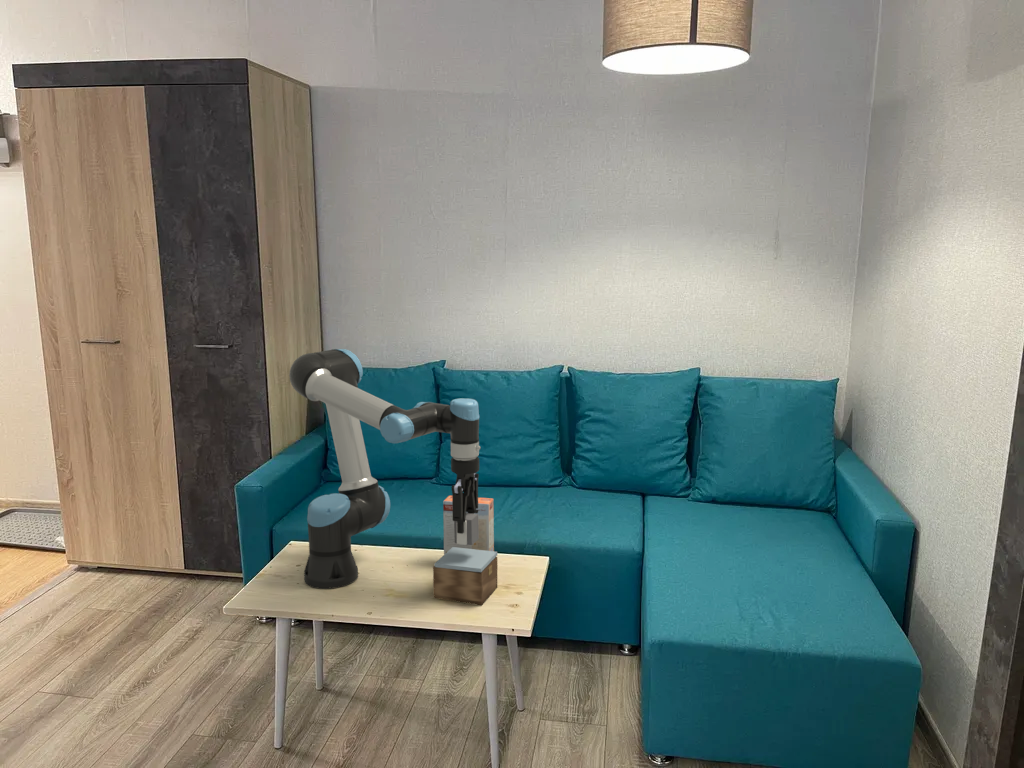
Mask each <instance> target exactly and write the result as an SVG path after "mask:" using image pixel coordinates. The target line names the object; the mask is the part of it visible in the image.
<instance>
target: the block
mask: <svg viewBox="0 0 1024 768" xmlns="http://www.w3.org/2000/svg"><path fill="white" fill-rule="evenodd" d="M465 521H467V544H466V545H473V544H474V543H475V542H476V541H477V540H478V539H479V525H478V514H471V513H466V518H465ZM454 536H455V543H457V521H454Z"/></svg>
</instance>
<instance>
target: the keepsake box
mask: <svg viewBox="0 0 1024 768" xmlns="http://www.w3.org/2000/svg"><path fill="white" fill-rule="evenodd" d="M432 575H433V577H432V580H433V581H432V582H433V583H432V584H433V592H432V593H433V598H434V599H437V600H438V599H439V600H444V601H451V602H455V603H462V604H469V605H476V606H480V607H482V606H483V605H484V604H485V603H486V601H487V600H488V599H489V598H490V597H491V596H492V595H493V594H494V592H495V591H496V590H497V588H498V556H496V557H495V558H494V559H493V560H492V561H491V562H490V564H489V565H488V566H487V567H486V568H485V569H484V570H483V571H482V572H473V571H465V570H456V569H447V568H439V567H435V565H433V566H432Z"/></svg>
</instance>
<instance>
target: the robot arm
mask: <svg viewBox="0 0 1024 768" xmlns="http://www.w3.org/2000/svg"><path fill="white" fill-rule="evenodd" d="M363 372H364V371H363V365H362V362H361V360H360V359H359V358H358V356H357V355H356V354H355V353H353V352H352V351H351V350H350V349H345V348H332V349H328V350H323V351H317V352H316V351H315V352H309V353H308V352H307V353H305V354H302V355H300V356H298V357H297V358H296V359H295V360H294V361H293V362H292V364H291V366H290V369H289V375H288V376H289V382H290V384H291V386H292V388H293V389H294V390H295V392H296V393H298V395H301V397H304V398H305V399H307V400H309V401H312V402H319V401H321V402H322V403H324V404H325V408H326V411H327V416H328V422H329V426H330V429H331V430H330V431H331V435H332V436H331V437H332V439H333V445H334V449H335V454H336V457H337V463H338V469H339V474H340V476H341V477H340V478H341V485H340V486H339V487H338V493H336V492H335V493H334V492H333V493H329V494H324V495H323V494H322V495H320V496H317V497H315V498H314V499H313V500H312V501H311V502H310V503H309V504H308V507H307V516H306V520H307V532H308V533H307V535H308V551H309V552H308V557H307V560H306V564H305V566H304V567H305V568H304V571H303V582H304V583H305V584H306V585H307V586H309V587H310V588H315V589H324V590H326V589H328V590H329V589H337V588H341V587H345V586H347V585H350V584H352V583H354V582H355V581H357V579H358V578H359V568H358V565H357V563H356V560H355V557H354V555H353V552H352V538H351V537H352V536H355V535H357V534H360V533H362V532H364V531H366V530H367V531H368V530H370V529H373V528H375V527H377V526H379V525H380V524H382V523H383V522H385V520H386V519H387V517H388V516H389V514H390V510H391V500H390V499H391V498H390V495H389V494H388V492H387V491H385V488H384V487H382V486H381V485H379V482H378V480H377V479H376V478H375V477H373V476H372V474H371V469H370V465H369V464H370V463H369V459H368V454H367V450H366V444H365V440H364V435H363V430H362V426H361V422H363V423H364V424H367V425H368V426H371V427H372V428H373V427H374V428H375V429H377V430H379V431H380V434H381V437H383V438H384V440H385V441H386V442H387V443H391V444H399V443H404V442H405V443H406V442H407V441H409V440H413V439H416V438H419V437H421V436H426V435H429V434H431V433H432V434H433V433H435V432H437V433H445V434H450V456H451V458H450V470H451V472H452V473H453V474H455V475H456V479H455V485H454V484H453V485H451V493H452V495H451V496H452V503H453V521H457V544H464V545H466V544H467V521H465V518H466V512H468V513H471V514H474V513H478V510H476V509H478V498H479V477H480V475H479V473H478V472H479V470H480V457H479V454H480V450H481V446H480V438H479V435H480V434H479V432H480V430H479V429H480V414H479V413H480V411H479V402H478V401H477V400H476V399H474V398H468V397H467V398H463V397H462V398H460V397H459V398H455V399H452V400H451V401H450V402H449V403H450V405H449V404H443V403H438V402H437V403H436V402H432V401H420V402H417V403H416V405H415V406H414V407H412V408H411V409H404V408H401V407H399V406H397V405H394V404H393V403H390V402H388V401H386V400H384V399H382V398H380V397H378V396H375V395H373V394H371V393H369V392H367V391H365V390H363V389H361V388H359V385H358V384H359V383H360V382H361V380H362V377H363V374H364V373H363ZM360 421H361V422H360Z"/></svg>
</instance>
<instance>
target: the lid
mask: <svg viewBox="0 0 1024 768" xmlns="http://www.w3.org/2000/svg"><path fill="white" fill-rule="evenodd" d="M495 557H498V551H495V550H494V551H485V550H476V549H466V548H457V547H452V548H451V549H450V550H449V551H448V552H447V553H446V554H445V555H444V554H443V555H441V557H440V558H439V559H438V560H437V561H436V562H434V565H435V567H439V568H447V569H456V570H465V571H473V572H482V571H483V570H484V569H485V568H486V567H487V566H488V565H489V564H490V562H491V561H492V560H493V559H494V558H495ZM434 565H433V566H434Z"/></svg>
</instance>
